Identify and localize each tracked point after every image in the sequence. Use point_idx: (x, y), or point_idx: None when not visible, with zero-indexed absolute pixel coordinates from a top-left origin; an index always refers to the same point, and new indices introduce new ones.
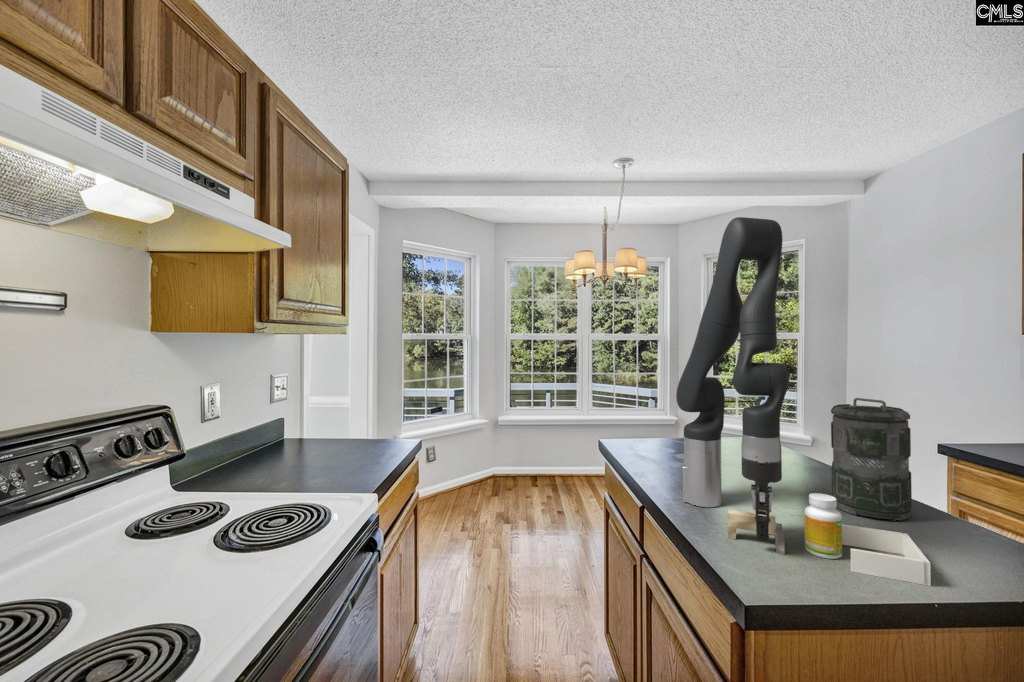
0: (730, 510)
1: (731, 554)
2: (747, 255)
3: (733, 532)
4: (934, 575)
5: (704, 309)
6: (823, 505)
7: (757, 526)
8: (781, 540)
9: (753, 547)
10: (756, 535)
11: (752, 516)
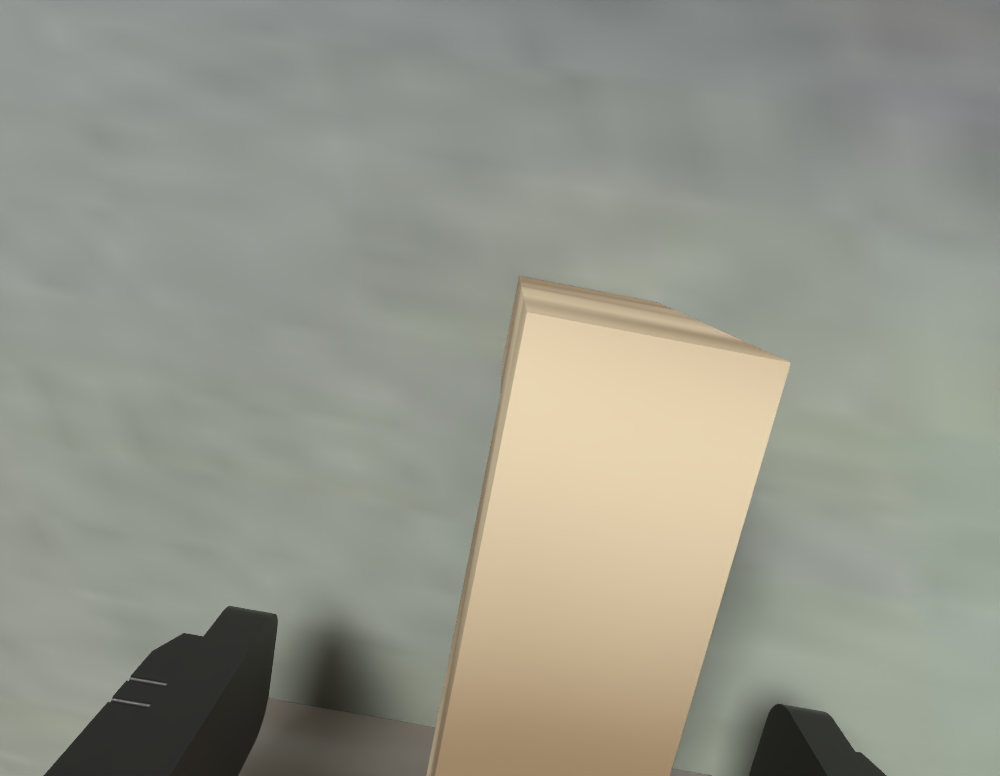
0: (728, 397)
1: (50, 242)
2: None
3: (507, 351)
4: None
5: None
6: None
7: (145, 730)
8: None
9: (337, 514)
10: (218, 623)
11: (462, 763)
